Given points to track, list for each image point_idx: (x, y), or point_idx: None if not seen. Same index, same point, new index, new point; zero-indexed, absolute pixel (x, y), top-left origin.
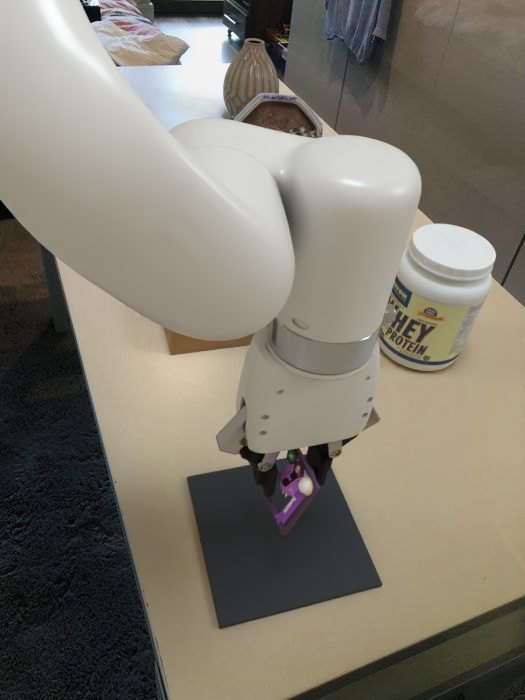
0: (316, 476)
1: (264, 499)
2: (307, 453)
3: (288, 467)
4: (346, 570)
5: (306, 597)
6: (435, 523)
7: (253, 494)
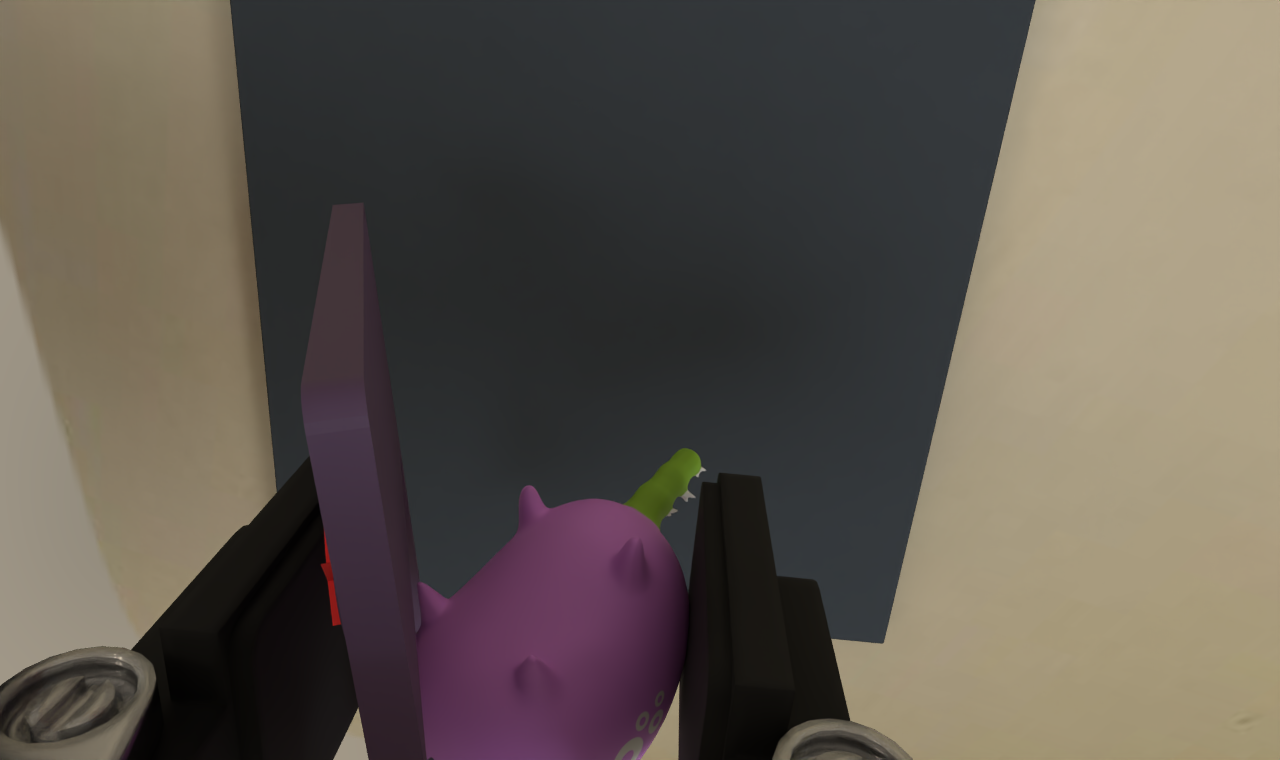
0: (681, 699)
1: (586, 179)
2: (702, 537)
3: (445, 722)
4: (784, 568)
5: None
6: (1266, 508)
7: (541, 135)
